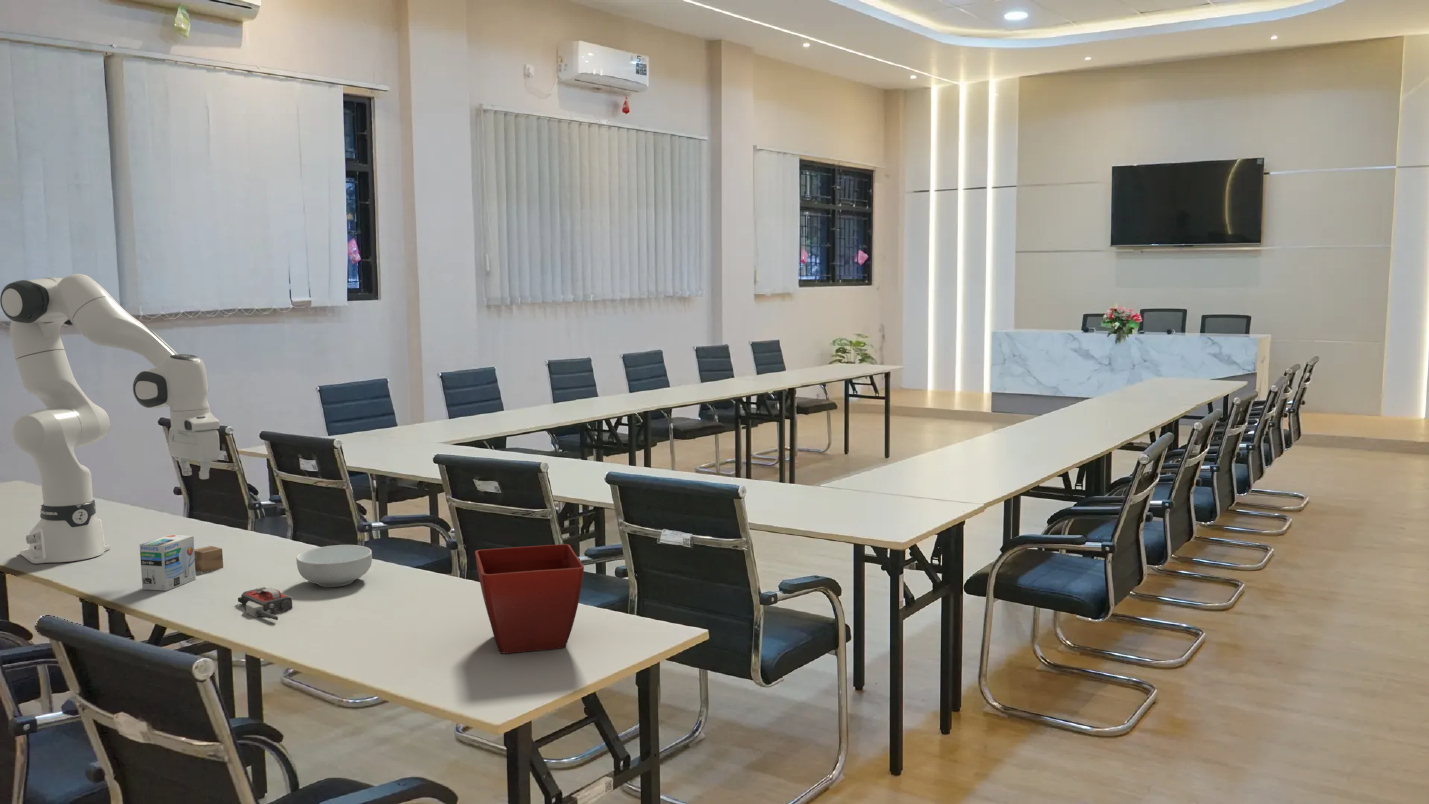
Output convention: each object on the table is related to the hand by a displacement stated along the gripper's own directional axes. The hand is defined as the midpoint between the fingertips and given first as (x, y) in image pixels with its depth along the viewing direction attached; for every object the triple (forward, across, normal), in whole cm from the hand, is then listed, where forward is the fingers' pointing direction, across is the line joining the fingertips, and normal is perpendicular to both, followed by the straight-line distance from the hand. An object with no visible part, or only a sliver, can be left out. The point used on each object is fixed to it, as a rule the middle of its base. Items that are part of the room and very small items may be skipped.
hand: (195, 477), depth 265 cm
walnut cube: (+23, 0, +1) cm, 23 cm away
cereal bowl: (+25, +35, +15) cm, 46 cm away
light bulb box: (+24, +7, -11) cm, 27 cm away
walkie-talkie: (+25, +45, -6) cm, 51 cm away
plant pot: (+26, +104, +17) cm, 108 cm away
